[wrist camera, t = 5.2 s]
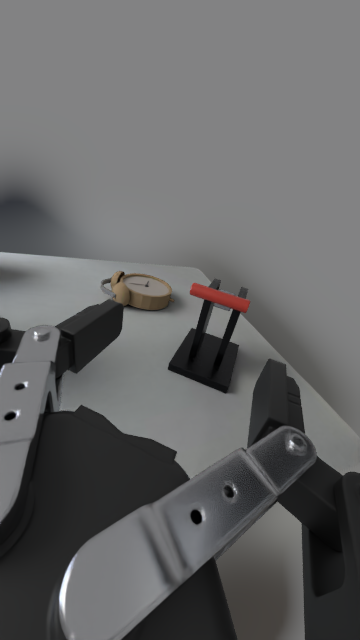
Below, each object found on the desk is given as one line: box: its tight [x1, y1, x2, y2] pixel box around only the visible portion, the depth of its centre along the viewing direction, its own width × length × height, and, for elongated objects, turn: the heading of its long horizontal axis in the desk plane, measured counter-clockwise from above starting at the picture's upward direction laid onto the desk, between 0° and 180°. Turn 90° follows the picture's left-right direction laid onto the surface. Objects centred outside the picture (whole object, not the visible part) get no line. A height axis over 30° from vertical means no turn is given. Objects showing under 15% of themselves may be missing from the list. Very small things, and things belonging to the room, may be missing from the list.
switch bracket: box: [168, 279, 248, 393], centre depth 35 cm, size 11×9×13 cm
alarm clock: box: [101, 271, 174, 310], centre depth 50 cm, size 11×5×15 cm
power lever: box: [190, 283, 250, 313], centre depth 27 cm, size 13×6×2 cm, turn 160°
